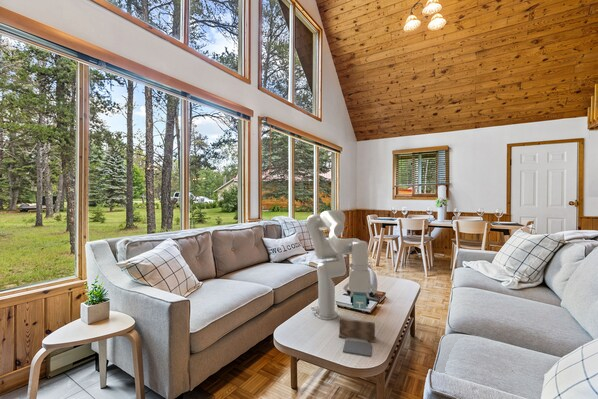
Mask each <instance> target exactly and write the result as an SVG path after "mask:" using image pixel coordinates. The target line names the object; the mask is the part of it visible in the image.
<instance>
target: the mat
mask: <svg viewBox="0 0 598 399" xmlns="http://www.w3.org/2000/svg"><path fill="white" fill-rule="evenodd" d="M342 353H345V354H346V353H347V354H353V355H357V356H364V357H371V355H372V354H371V353H372V342H366V341H365V342H364V341H359V340H351V339H345V340H344V344H343V349H342Z"/></svg>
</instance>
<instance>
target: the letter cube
mask: <svg viewBox="0 0 598 399" xmlns="http://www.w3.org/2000/svg"><path fill="white" fill-rule="evenodd" d="M366 297H367V295H366V293H359V292H354V293H353V306H352V308H353V309H360V310H367V306H366Z"/></svg>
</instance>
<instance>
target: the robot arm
mask: <svg viewBox="0 0 598 399" xmlns="http://www.w3.org/2000/svg"><path fill="white" fill-rule="evenodd" d="M345 221H346V215H345V213H344V211H343V210H341V209H327V210H324V211H322V212H321V213H314V214H311V215H309V216H308V217H307V218H306V229H307V231H308V233H309V236H310V237H311V238H310V239H311V241H312V244H313V249H314V253H315V257H316V258H317V259H318V260H324V261H320V262H319V263H317V265H316V272H317V273H316V275H317V282H318V285H317V286H318V289H317V291H318V296H317V297H318V302H317V304H318V305H316V306H315V305H311V308H310V309H311V311H313V312H315V317H316V318H318V319H320V320H324V321H331V320H334V319H335V320H336V318H337V317H338V312H337V311H336V310H335V309H336V303H335V302H336V285H335V283H334V281H333V280H332V278H337V277H342V276H345V275H346V273H347V265H346V261H345V258H344V255H350V254H351V263H349V264H348V267H349V268H350V270H349V274H348V282H347V283H346V284H345V285H344V286H343V290H344V291H345V293H346V294H348V296H349V297H350V304H351V306H352V307H353V293H354V292H359V293H366V295H367V297H366V308H368V307H369V305H370V299H371V297H372V296H373V295H374V294H376V293H377V291H378V290H377V288H376V287H375V286H374V285H373V284H372V281H371V279H372V278H371V273H370V269H369V249H368V248H369V244H368V242H367V241H365V240H361V239H359V238H356V237H355V238H353V237H352V238H351V237H350V238H339V236H340V235H342V234H343V232H344V230H345V225H344V223H345ZM323 228H326V230H328V232H329V233H328V241H327V236H326V235H325V233H324V232H323V231H322V230H321V229H323Z"/></svg>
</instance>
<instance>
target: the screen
mask: <svg viewBox="0 0 598 399" xmlns="http://www.w3.org/2000/svg"><path fill="white" fill-rule="evenodd" d="M346 337H347V338H349V337H350V338H355V339H362V340H367V343H371V344H372V343H373V344H375V343H376V342H375V340H376V323H375V322H373V321H365V320H358V319H357V320H356V319H349V318H341V317H340V318H339V334H338V338H339V339H346Z"/></svg>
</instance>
